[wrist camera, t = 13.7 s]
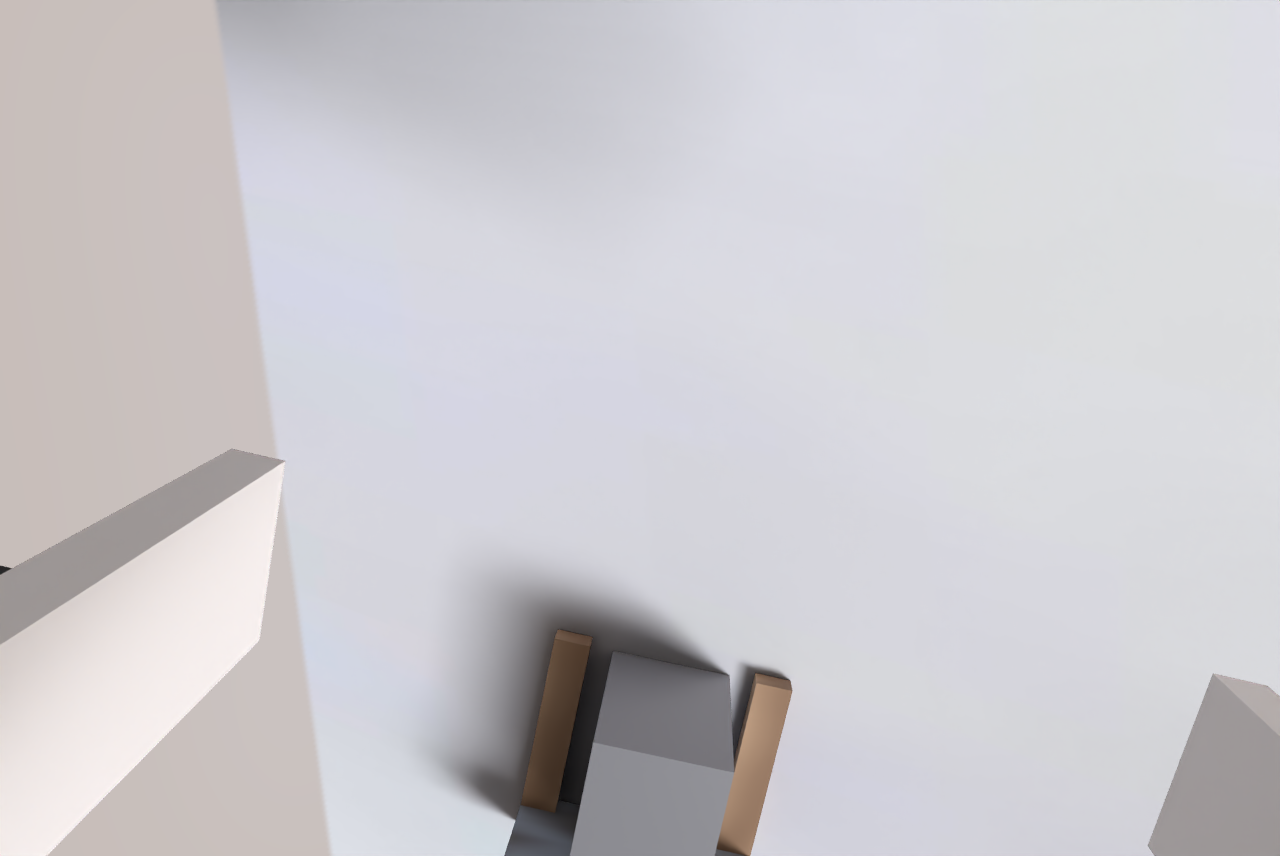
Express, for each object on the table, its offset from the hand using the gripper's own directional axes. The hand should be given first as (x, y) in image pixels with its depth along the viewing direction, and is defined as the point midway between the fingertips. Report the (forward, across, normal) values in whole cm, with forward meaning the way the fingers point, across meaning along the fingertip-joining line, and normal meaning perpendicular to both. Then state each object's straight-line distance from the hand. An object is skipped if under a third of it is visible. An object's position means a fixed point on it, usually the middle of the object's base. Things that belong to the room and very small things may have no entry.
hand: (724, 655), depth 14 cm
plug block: (+27, +2, -17) cm, 32 cm away
